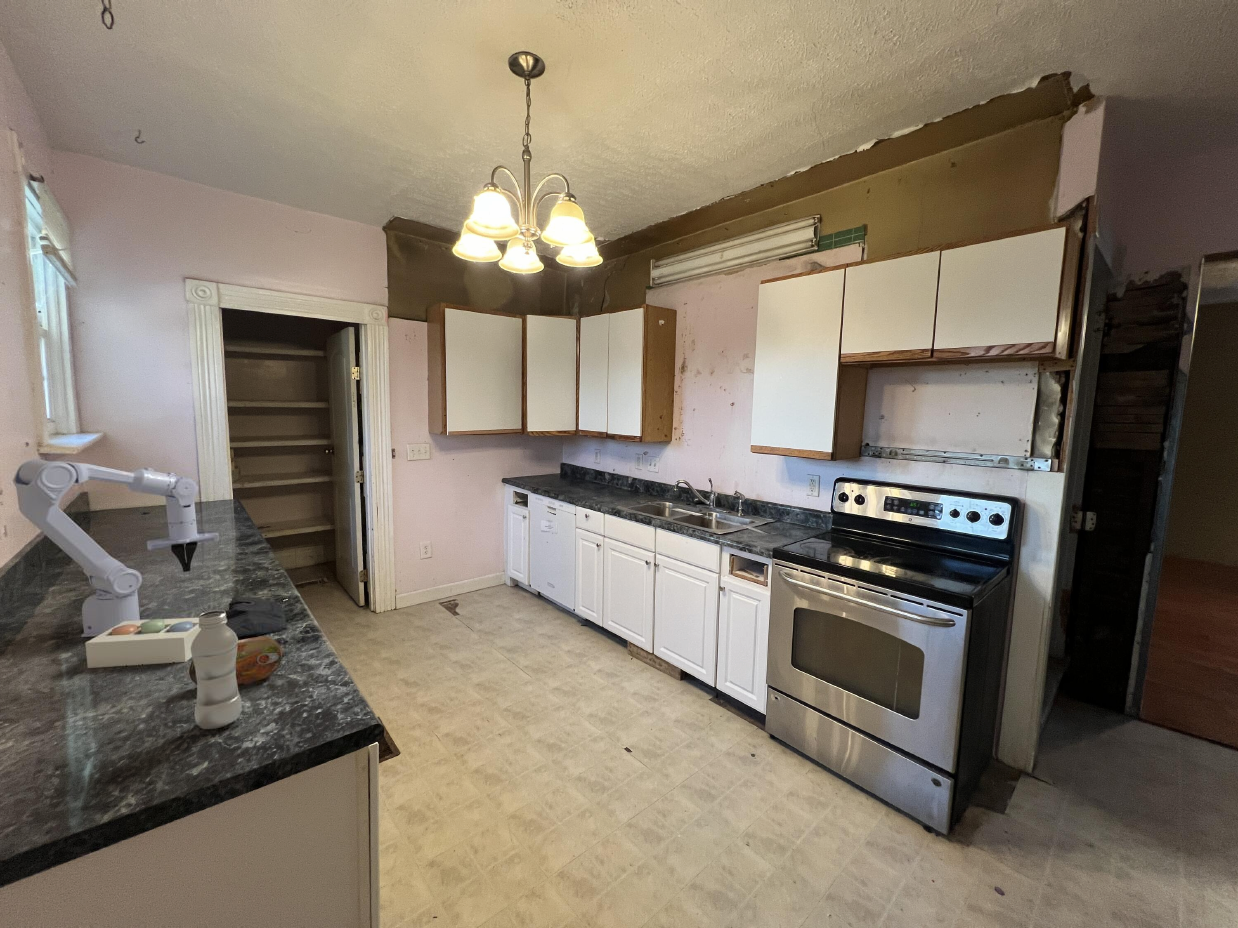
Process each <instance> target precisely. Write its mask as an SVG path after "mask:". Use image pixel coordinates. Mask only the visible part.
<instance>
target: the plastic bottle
mask: <svg viewBox="0 0 1238 928" xmlns="http://www.w3.org/2000/svg"><path fill="white" fill-rule="evenodd" d="M225 611H226V610H222V609H220V610H219V609H218V610H217V609H215V610H210V611H207V612H203V613H201V614H199V615H198V618H199V628H201V630H200V632H199V633H198V634H197V636H196V637H195V639H194V640H193V642H192V645H191V654H192V657H191V659H192V661H193V662H194V665H195V670H196V677H197V685H196V687H197V688H196V704H195V706H194V714H193V715H194V720H195V722H196V723H195V724H196V726H198V727H200V728H201V729H203V730H214V729H219V728H223V727H225V726H228V725H230V724H232V723H234V722H235V721H236V720H237V719H238V718H239V716H240V715H241V712H242V706H243V702H242V698H241V694H240V691H239V687H238V684H237V680H236V655H237V647H238V640H239V637H237V635H236V633H235V632H234V631H233V630H232V629H230V628H229V627H228V626H226V623H227V618H226V612H225Z"/></svg>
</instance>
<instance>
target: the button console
mask: <svg viewBox="0 0 1238 928" xmlns="http://www.w3.org/2000/svg"><path fill="white" fill-rule="evenodd" d="M149 620H150V619H140V620H139V621H124V622H122V623H120V624H118V625H117V626H115V627H113V628H111V629H109V630H108V631H106V632H104V633H102V634H100V635H99V636H94V637H93V638H92V639H90V640H88V641H86V642H85V643H84V645H85V651H86V652H85V654H86V663H87V665H86V666H87V669H93V668H108V667H124V666H126V665H127V666H138V665H139V666H140V665H141V666H143V665H155V664H156V665H157V664H170V663H171V664H172V663H173V662H175V663H187V661H188V660H190V659H192V654H191V645H192V642H193V640H194V639H195V637H196V636H197V634H198V633H199V632H200V630H201V628H199V617H186V618H185V617H182V618H164V620H165V629H164V630H162V631H161V632H159V633H151V634H141V627H140V625H141V624H142V623H143V622H146V621H149ZM186 621H190V622H193V628H191V629H190V630H189V631H187V632H170V628H169V627H170V626H171V625H173V624H176V623H179V622H186ZM128 624H135V625H136V626H137V630H136V631H134V632H133V633H131V634H129V635H114V636H112V631H111V630H112V629H114V628H116V627H119V626H123V625H128ZM142 664H143V665H142Z"/></svg>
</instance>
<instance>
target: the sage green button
mask: <svg viewBox="0 0 1238 928" xmlns="http://www.w3.org/2000/svg"><path fill="white" fill-rule="evenodd" d="M164 619H165V618H164ZM164 619H163V618H156V619H155V618H153V619H148V620H149V621H146V622H143V623H142V624H141V625H140V627H141V634H151V633H159V632H161V631H162V630H164V629H165V620H164Z"/></svg>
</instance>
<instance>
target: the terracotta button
mask: <svg viewBox="0 0 1238 928" xmlns="http://www.w3.org/2000/svg"><path fill="white" fill-rule="evenodd" d="M136 630H137V626H136V625H135V624H128V625H123V626H119V627H116V628H114V629H112V630H111V631H112V636H114V635H129V634H131V633H133V632H134V631H136Z"/></svg>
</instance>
